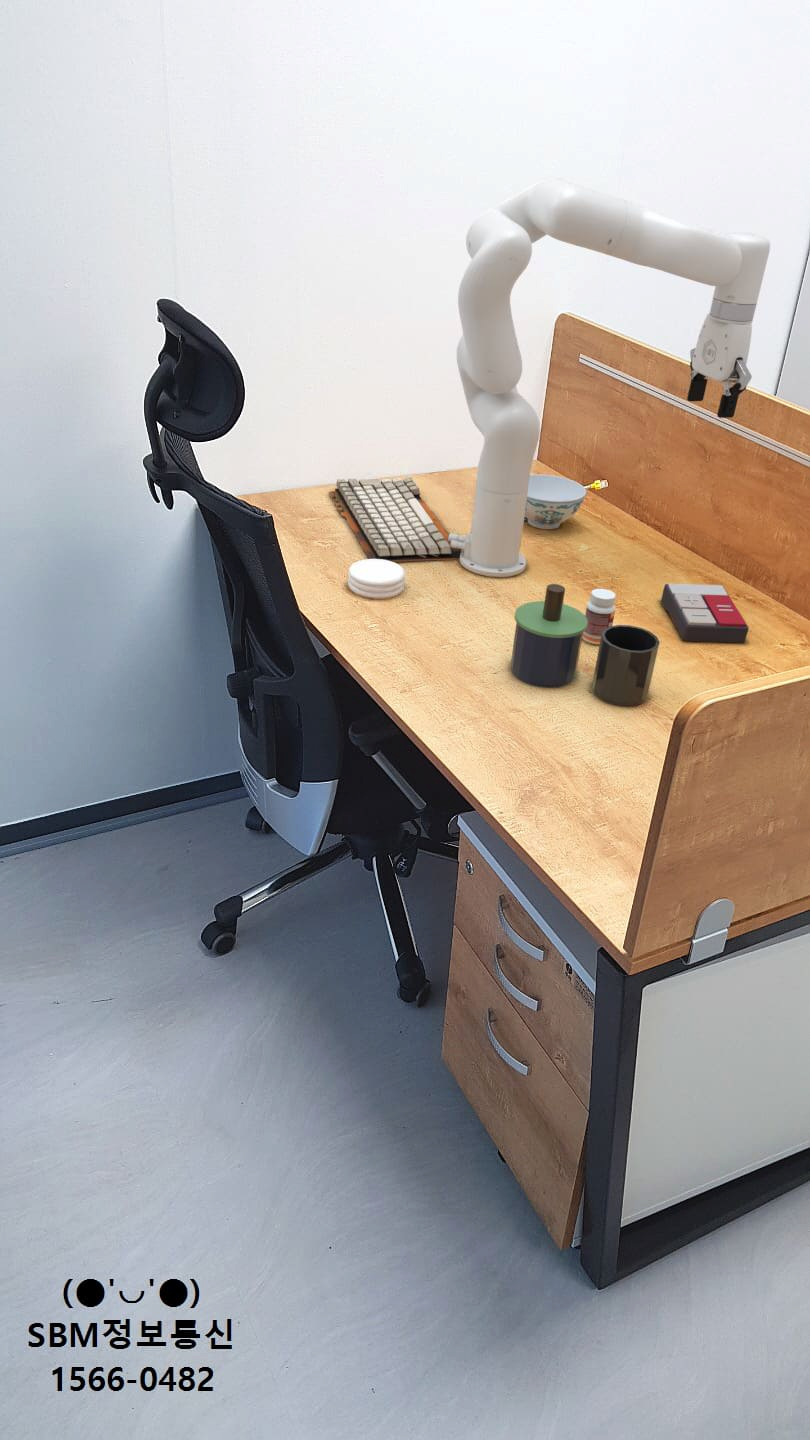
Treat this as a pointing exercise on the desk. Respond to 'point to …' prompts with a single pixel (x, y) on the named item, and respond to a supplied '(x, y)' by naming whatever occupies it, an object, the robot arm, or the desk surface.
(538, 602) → the lid
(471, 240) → the robot arm
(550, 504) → the chinaware
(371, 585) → the white round stack
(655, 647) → the cup
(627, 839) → the desk surface
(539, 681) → the tin
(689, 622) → the calculator
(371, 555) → the mechanical keyboard
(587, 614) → the pill bottle
